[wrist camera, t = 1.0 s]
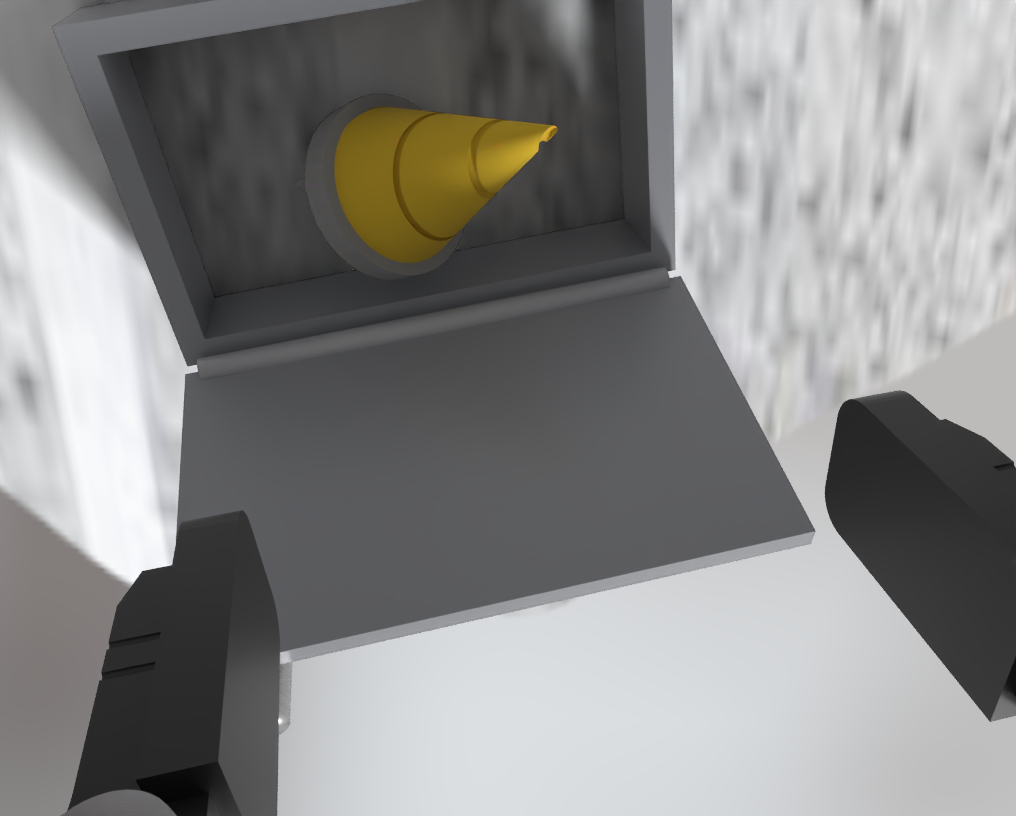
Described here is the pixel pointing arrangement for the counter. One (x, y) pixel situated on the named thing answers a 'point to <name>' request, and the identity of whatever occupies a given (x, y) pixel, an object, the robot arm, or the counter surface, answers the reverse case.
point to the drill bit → (407, 180)
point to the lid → (484, 460)
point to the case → (354, 295)
